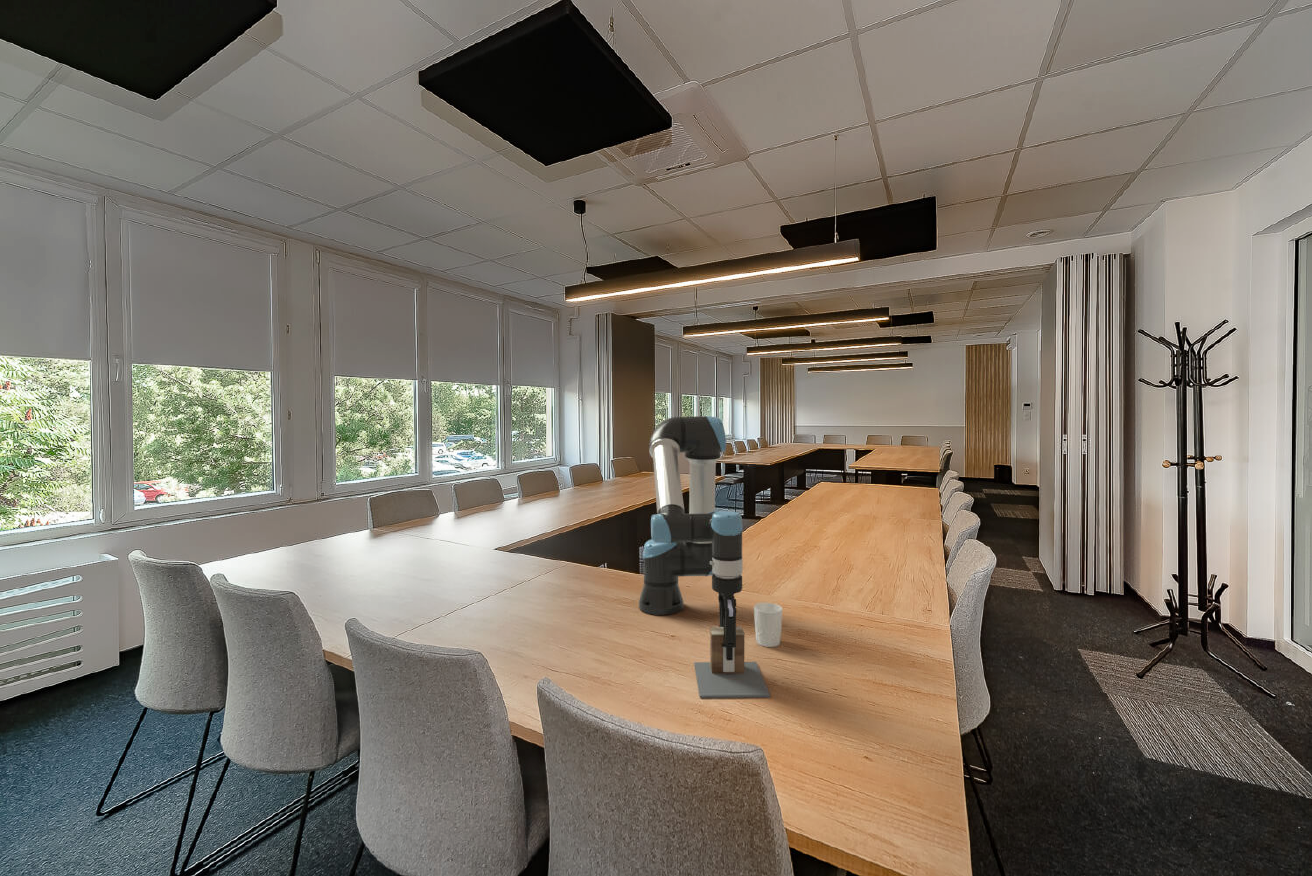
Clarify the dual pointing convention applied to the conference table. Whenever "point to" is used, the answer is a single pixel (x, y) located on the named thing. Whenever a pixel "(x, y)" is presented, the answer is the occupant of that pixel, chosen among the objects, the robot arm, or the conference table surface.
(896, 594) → the conference table surface
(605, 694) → the conference table surface
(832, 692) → the conference table surface
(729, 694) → the rubber mat
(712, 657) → the walnut slab
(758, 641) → the white cup
